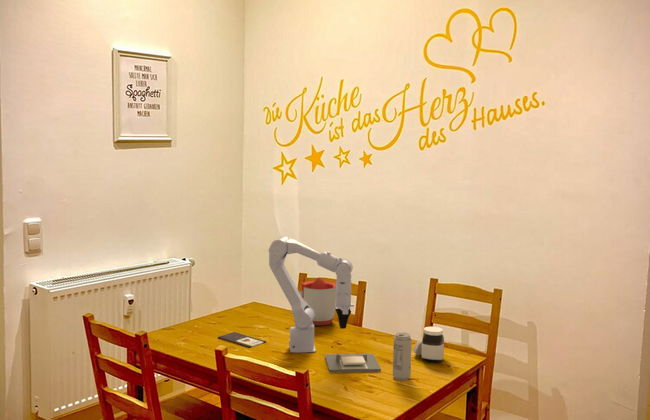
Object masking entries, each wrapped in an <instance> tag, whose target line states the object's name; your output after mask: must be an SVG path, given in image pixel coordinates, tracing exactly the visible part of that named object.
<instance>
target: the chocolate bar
mask: <svg viewBox="0 0 650 420" xmlns="http://www.w3.org/2000/svg"><path fill="white" fill-rule="evenodd" d="M217 339H219V340H222V341H225V340H226V341H225V342H229V343H232V344H235V345H238V346H242V347H245V348H248V349H252V348H253V347H256V346H260V345H263V344H266V343H267V341H266V340H263V339H260V338H256V337H254V336H253V337H252V336H250V335H247V334H243V333H240V332H236V331H233V332H230V333H227V334H226V333H225V334H223V335H219V336H217Z"/></svg>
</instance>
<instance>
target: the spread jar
mask: <svg viewBox="0 0 650 420" xmlns="http://www.w3.org/2000/svg"><path fill="white" fill-rule="evenodd" d="M444 350H445V338H444V329H443V328H442V327H438V326H427V327H426V326H425V327H424V329H423V335H422V337H421V338H419V339H418V340H417V341H416V342H415V345H414V346H413V353H414V354H416V356H420V355H421V359H422V361H424V362H425V363H428V364H438V363H441V362H443V360H444V353H445V351H444Z"/></svg>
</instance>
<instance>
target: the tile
mask: <svg viewBox="0 0 650 420" xmlns="http://www.w3.org/2000/svg"><path fill="white" fill-rule="evenodd" d="M341 360H342V363H343V365H364V364H366V362H365V360H364V358H363V356H346V357H341Z"/></svg>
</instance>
